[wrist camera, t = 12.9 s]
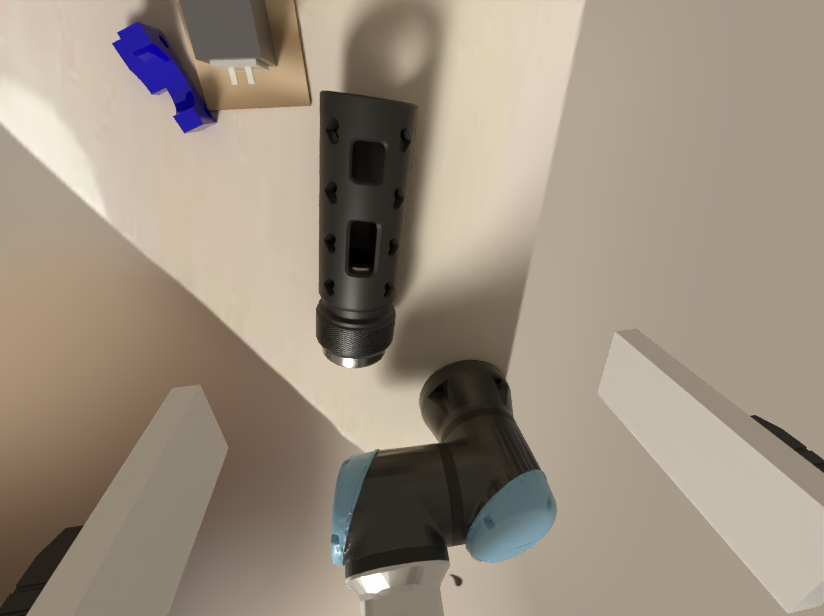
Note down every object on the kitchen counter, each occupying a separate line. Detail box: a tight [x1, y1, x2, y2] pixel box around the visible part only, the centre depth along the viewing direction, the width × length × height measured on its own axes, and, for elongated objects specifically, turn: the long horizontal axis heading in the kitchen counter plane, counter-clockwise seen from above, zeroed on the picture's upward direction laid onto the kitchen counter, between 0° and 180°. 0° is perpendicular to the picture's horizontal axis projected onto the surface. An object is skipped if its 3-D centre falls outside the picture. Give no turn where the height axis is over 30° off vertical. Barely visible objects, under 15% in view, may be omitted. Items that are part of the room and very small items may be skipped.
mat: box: [176, 0, 311, 110], centre depth 33 cm, size 13×10×1 cm
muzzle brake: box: [316, 91, 418, 368], centre depth 39 cm, size 10×28×10 cm, turn 172°
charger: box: [179, 0, 277, 85], centre depth 30 cm, size 8×5×7 cm, turn 2°
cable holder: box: [112, 22, 217, 133], centre depth 33 cm, size 8×4×4 cm, turn 22°
